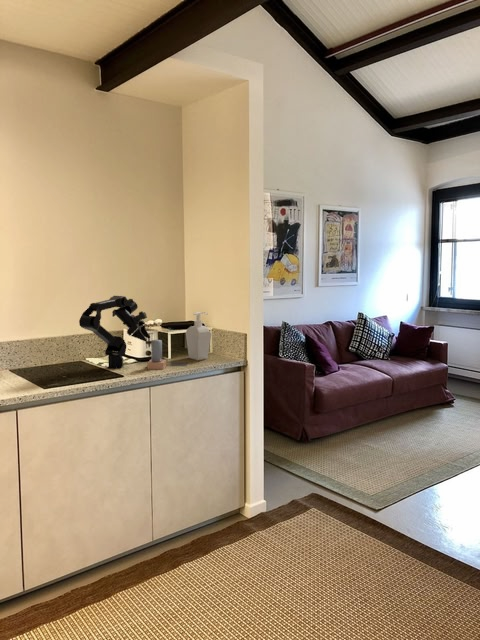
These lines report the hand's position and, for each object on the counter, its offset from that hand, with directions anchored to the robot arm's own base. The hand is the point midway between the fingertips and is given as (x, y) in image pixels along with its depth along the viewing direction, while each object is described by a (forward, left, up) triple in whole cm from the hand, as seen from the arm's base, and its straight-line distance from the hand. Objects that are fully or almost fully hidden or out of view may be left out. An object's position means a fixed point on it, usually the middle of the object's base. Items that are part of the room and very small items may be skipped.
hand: (148, 339), depth 268 cm
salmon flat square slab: (+6, -6, -14) cm, 16 cm away
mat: (+16, +2, -14) cm, 21 cm away
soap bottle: (+25, +20, -14) cm, 35 cm away
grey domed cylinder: (+5, -6, -10) cm, 13 cm away
